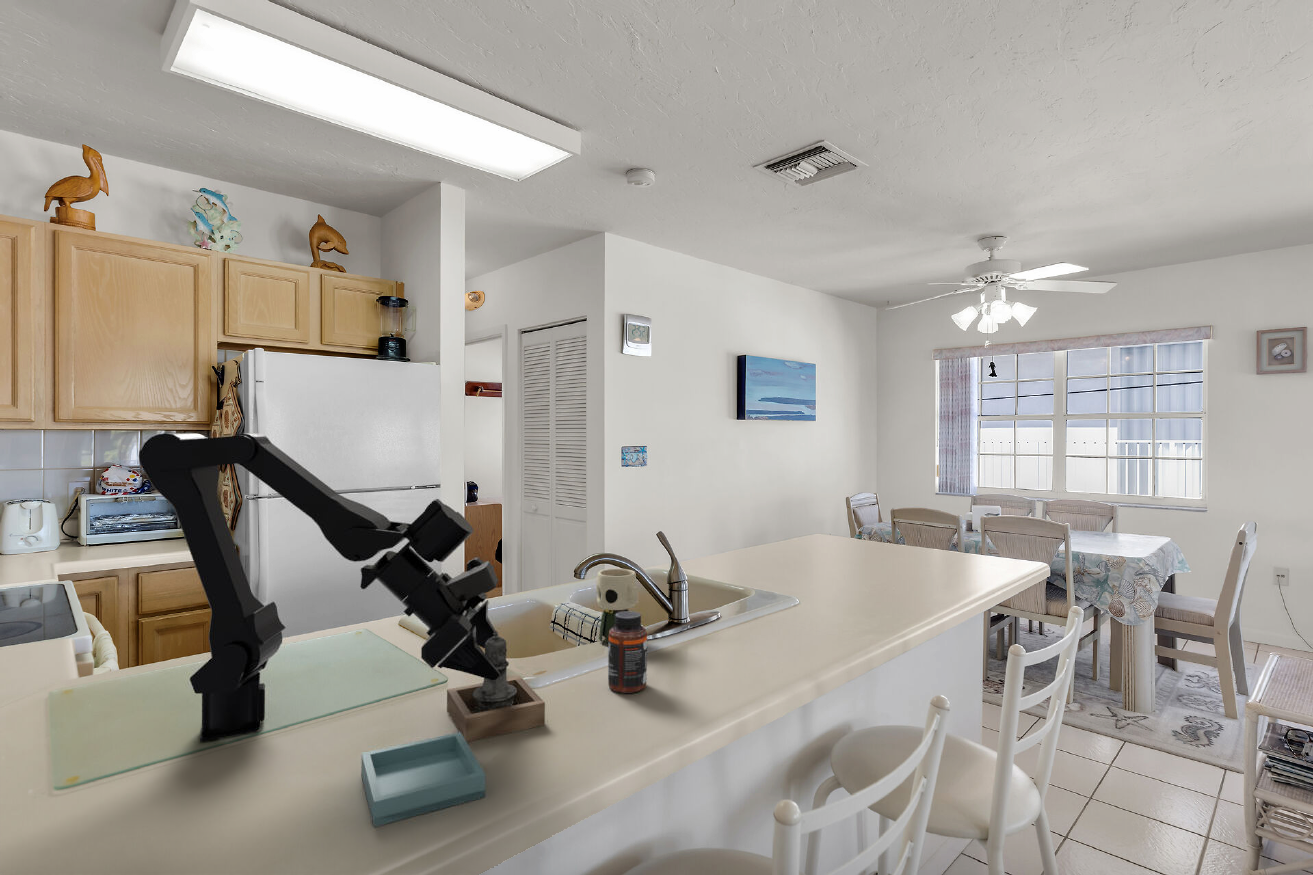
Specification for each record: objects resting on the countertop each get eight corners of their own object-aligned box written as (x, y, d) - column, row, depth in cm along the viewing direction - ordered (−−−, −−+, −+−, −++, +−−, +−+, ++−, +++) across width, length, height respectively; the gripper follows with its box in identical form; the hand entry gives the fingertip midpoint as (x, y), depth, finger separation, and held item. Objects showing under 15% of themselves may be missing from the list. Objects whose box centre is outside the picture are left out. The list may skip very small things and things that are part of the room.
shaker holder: (465, 742, 83) (465, 718, 83) (446, 710, 92) (447, 689, 92) (544, 724, 88) (544, 702, 88) (519, 696, 98) (519, 676, 97)
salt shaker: (505, 729, 87) (506, 639, 87) (464, 724, 88) (465, 635, 88) (523, 710, 93) (524, 625, 92) (484, 706, 94) (485, 622, 94)
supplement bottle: (654, 687, 102) (655, 614, 102) (627, 698, 98) (628, 622, 97) (627, 676, 106) (628, 606, 106) (599, 686, 102) (601, 613, 101)
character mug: (582, 638, 124) (583, 570, 124) (610, 630, 129) (611, 564, 129) (621, 653, 117) (622, 580, 116) (650, 644, 122) (651, 574, 122)
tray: (373, 826, 66) (374, 801, 65) (361, 774, 75) (361, 752, 75) (485, 796, 71) (485, 773, 71) (460, 752, 81) (460, 731, 81)
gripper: (449, 557, 80) (540, 644, 82) (472, 532, 99) (546, 604, 100) (381, 623, 79) (474, 710, 81) (417, 585, 98) (493, 657, 99)
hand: (501, 664), depth 90 cm, fingers open, 9 cm apart
